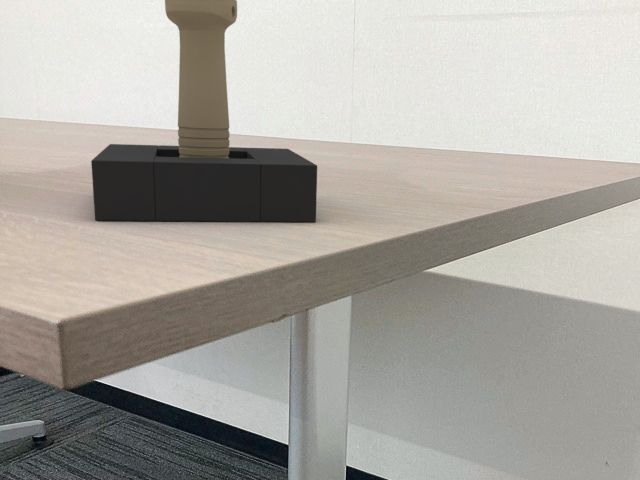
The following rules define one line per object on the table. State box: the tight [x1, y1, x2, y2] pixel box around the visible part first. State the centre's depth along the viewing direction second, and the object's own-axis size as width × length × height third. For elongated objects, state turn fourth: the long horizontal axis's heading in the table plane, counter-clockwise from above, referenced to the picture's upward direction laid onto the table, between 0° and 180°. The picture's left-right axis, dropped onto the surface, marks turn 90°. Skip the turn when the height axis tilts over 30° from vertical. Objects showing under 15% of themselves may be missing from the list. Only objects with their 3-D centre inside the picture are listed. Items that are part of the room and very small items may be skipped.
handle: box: [164, 0, 238, 158], centre depth 58 cm, size 5×6×15 cm
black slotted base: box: [90, 143, 318, 223], centre depth 60 cm, size 15×15×4 cm
